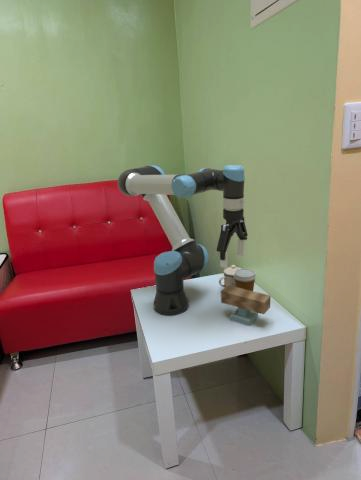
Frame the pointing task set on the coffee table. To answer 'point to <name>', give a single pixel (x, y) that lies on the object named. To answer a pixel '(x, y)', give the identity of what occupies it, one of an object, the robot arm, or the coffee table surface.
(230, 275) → the teacup with lid
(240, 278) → the disposable coffee cup
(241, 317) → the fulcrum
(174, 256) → the robot arm
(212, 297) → the coffee table surface
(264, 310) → the batten
